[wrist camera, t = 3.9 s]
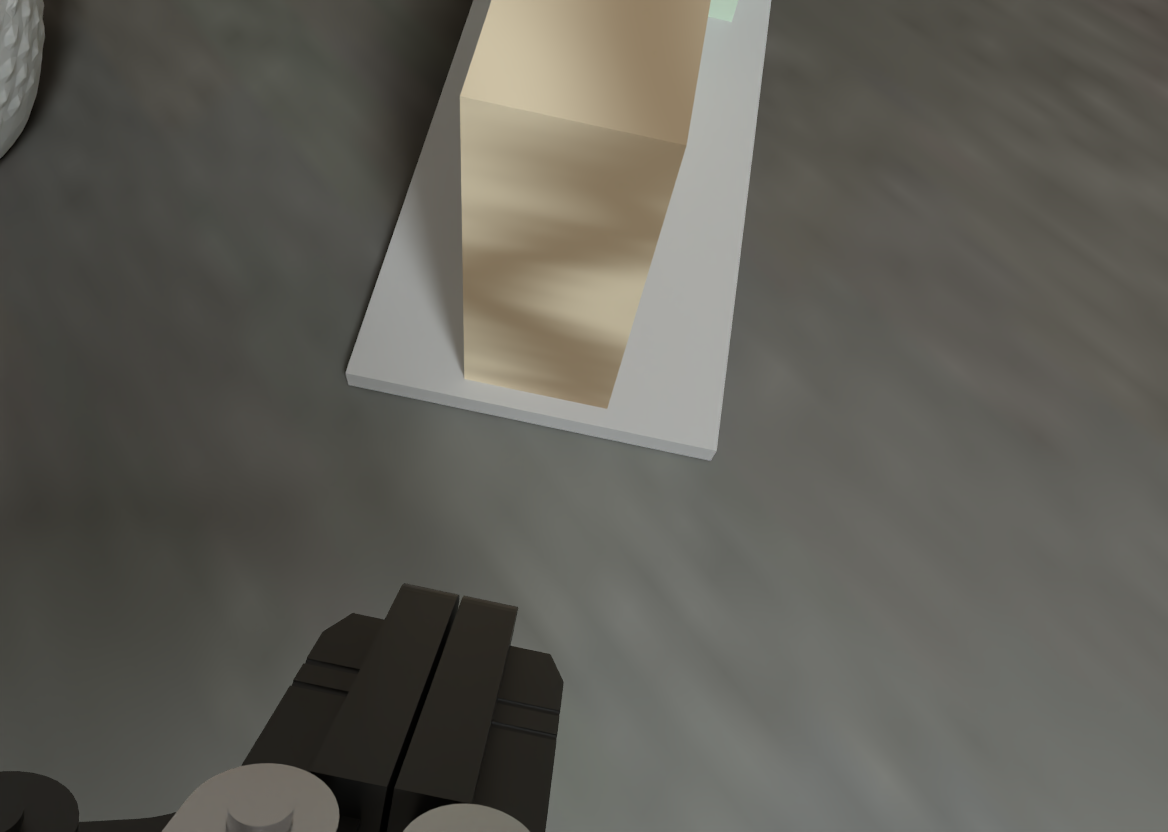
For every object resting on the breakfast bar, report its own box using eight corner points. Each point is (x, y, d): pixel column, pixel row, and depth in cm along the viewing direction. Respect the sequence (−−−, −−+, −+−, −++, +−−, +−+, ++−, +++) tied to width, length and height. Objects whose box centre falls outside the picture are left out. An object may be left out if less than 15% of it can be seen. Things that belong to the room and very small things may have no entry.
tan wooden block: (464, 378, 22) (459, 96, 14) (558, 35, 27) (594, -313, 19) (607, 409, 22) (686, 145, 14) (672, 60, 27) (756, -276, 19)
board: (348, 384, 22) (345, 372, 21) (530, -153, 32) (531, -170, 31) (710, 460, 22) (716, 450, 22) (779, -98, 32) (785, -114, 31)
